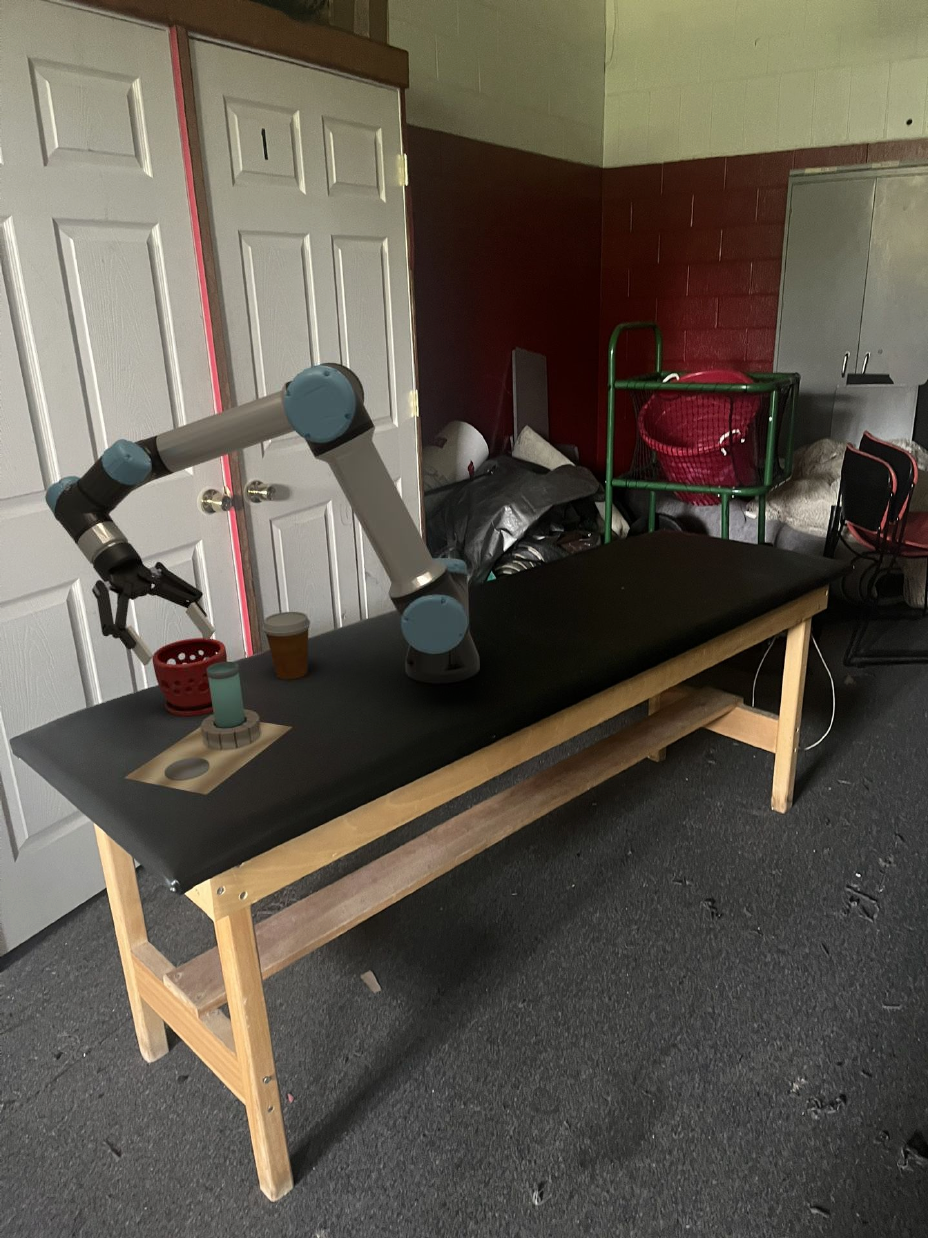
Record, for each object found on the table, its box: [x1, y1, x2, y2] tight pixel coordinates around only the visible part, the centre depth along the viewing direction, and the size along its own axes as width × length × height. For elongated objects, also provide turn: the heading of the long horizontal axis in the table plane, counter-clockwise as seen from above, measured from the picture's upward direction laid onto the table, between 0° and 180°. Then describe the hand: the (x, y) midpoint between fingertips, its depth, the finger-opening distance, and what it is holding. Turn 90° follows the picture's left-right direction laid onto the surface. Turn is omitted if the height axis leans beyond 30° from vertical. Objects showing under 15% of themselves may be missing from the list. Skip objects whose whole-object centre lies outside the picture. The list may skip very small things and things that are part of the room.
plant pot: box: [151, 637, 228, 717], centre depth 165 cm, size 13×13×12 cm
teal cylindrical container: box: [207, 661, 245, 729], centre depth 151 cm, size 5×5×13 cm
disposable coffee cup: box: [262, 611, 311, 680], centre depth 179 cm, size 10×10×12 cm
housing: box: [124, 708, 293, 796], centre depth 148 cm, size 16×24×4 cm, turn 158°
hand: (181, 647), depth 153 cm, fingers open, 13 cm apart
